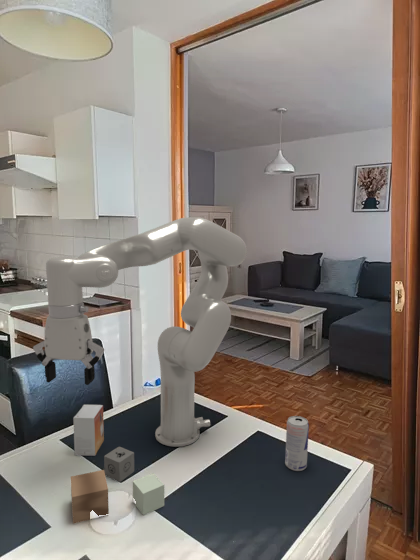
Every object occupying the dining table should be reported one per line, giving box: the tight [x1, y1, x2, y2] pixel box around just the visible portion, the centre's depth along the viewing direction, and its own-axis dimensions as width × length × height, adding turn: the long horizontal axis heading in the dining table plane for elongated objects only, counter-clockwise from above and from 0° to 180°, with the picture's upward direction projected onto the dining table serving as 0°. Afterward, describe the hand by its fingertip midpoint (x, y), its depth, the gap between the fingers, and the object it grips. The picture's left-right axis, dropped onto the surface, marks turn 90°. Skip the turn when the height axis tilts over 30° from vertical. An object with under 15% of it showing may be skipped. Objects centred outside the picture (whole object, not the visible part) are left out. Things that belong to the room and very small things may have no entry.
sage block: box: [132, 472, 165, 516], centre depth 86 cm, size 5×5×5 cm
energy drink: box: [284, 415, 310, 472], centre depth 100 cm, size 5×5×12 cm
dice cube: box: [103, 446, 135, 483], centre depth 97 cm, size 5×5×5 cm
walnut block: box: [70, 469, 110, 525], centre depth 85 cm, size 7×7×6 cm
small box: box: [72, 404, 105, 457], centre depth 107 cm, size 8×6×10 cm
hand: (70, 381), depth 95 cm, fingers open, 9 cm apart
